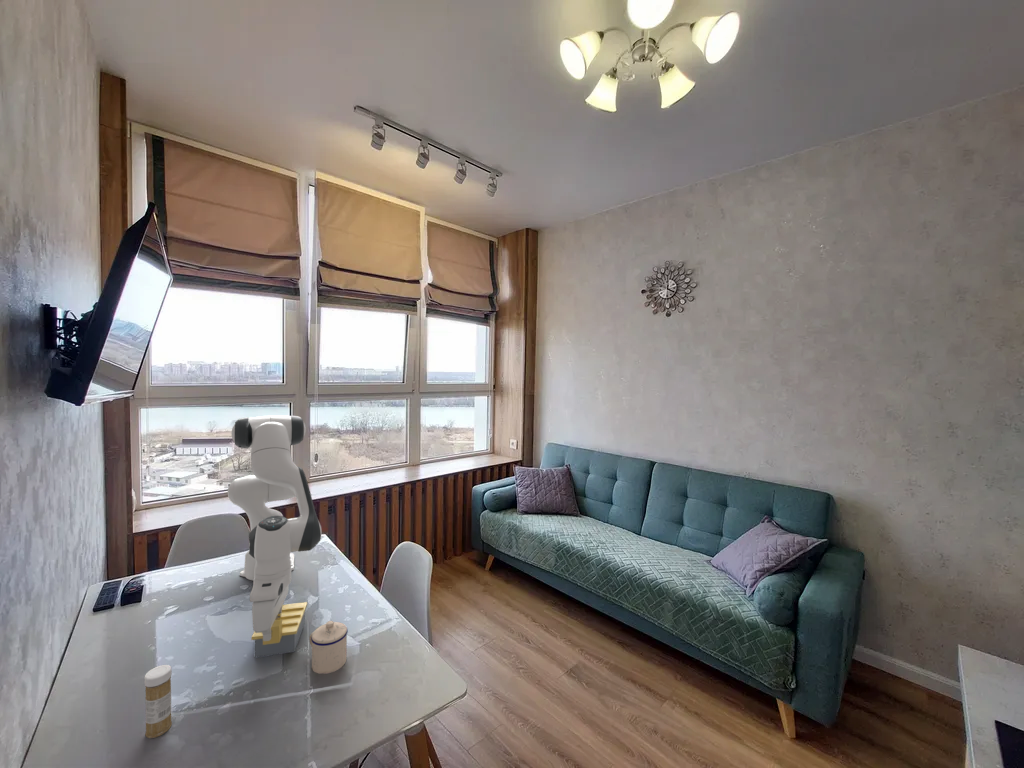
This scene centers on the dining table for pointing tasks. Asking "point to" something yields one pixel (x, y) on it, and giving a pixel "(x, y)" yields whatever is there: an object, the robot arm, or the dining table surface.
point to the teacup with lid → (329, 647)
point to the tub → (279, 644)
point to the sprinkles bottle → (158, 701)
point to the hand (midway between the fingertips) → (272, 628)
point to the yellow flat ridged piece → (285, 623)
